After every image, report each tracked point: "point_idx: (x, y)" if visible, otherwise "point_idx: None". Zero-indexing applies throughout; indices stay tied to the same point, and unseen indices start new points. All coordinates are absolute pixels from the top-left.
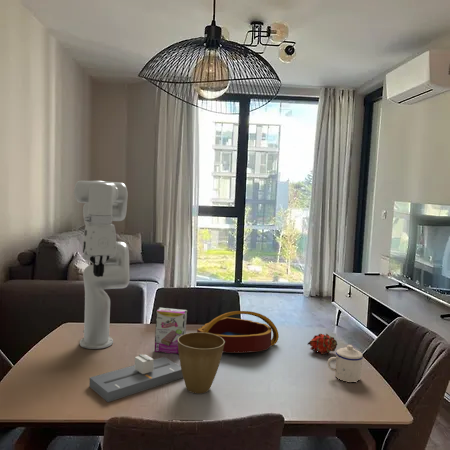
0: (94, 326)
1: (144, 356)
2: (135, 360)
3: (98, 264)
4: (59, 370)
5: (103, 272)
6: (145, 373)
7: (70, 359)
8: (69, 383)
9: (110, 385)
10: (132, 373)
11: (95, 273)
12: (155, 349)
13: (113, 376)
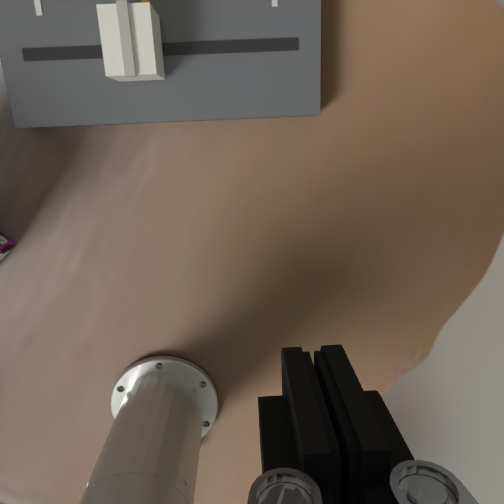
0: (177, 421)
1: (123, 42)
2: (158, 70)
3: (375, 486)
4: (339, 271)
5: (263, 398)
6: None
7: (281, 327)
8: (352, 172)
9: (290, 12)
10: (183, 59)
11: (374, 390)
12: (8, 244)
13: (251, 74)
